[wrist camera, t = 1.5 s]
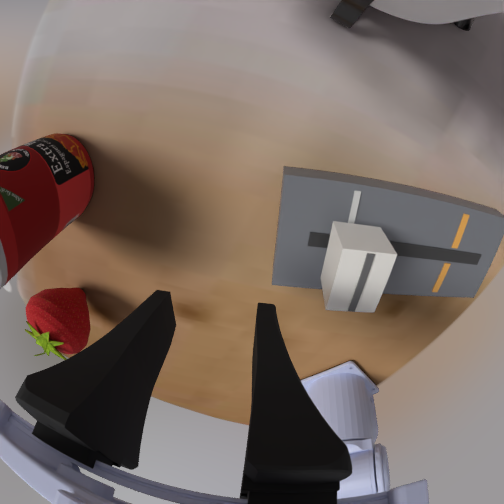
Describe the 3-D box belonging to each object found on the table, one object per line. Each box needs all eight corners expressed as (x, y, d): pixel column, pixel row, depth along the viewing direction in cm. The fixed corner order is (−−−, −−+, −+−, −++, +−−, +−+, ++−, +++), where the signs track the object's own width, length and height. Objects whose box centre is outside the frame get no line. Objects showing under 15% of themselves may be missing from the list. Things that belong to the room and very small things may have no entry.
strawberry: (57, 253, 23) (-1, 317, 15) (114, 291, 25) (65, 369, 16) (55, 287, 26) (9, 347, 18) (105, 321, 28) (66, 389, 19)
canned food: (106, 146, 17) (-9, 208, 8) (90, 230, 21) (11, 313, 12) (43, 121, 16) (-60, 164, 7) (34, 198, 20) (-44, 260, 11)
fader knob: (375, 219, 16) (397, 255, 12) (360, 272, 18) (374, 313, 14) (330, 213, 16) (343, 249, 12) (318, 268, 18) (325, 311, 15)
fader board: (496, 209, 16) (509, 220, 14) (464, 284, 20) (474, 298, 18) (283, 166, 17) (284, 175, 15) (272, 268, 21) (271, 285, 19)
